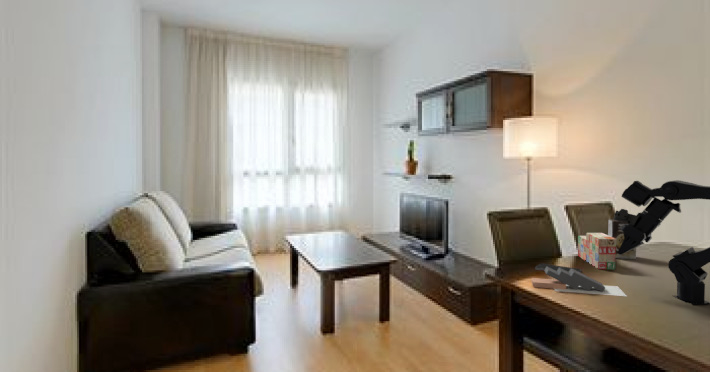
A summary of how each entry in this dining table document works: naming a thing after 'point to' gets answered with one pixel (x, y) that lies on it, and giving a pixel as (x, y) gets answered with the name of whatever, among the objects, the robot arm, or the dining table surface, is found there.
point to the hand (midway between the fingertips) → (618, 253)
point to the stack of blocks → (598, 250)
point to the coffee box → (619, 238)
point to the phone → (554, 267)
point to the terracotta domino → (548, 283)
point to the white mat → (595, 290)
